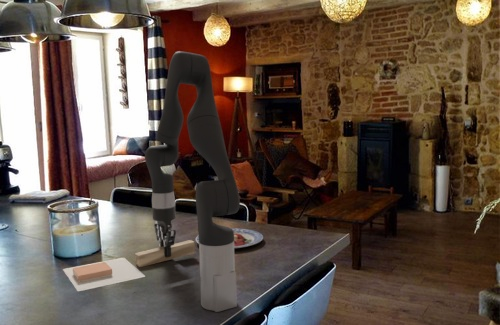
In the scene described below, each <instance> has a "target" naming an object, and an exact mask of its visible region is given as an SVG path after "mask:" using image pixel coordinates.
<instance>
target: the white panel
mask: <svg viewBox="0 0 500 325" xmlns="http://www.w3.org/2000/svg"><path fill="white" fill-rule="evenodd" d="M103 262H105V263H106V264H107V265H108V266H109V267H110V268H111V269H112V275H111V276H106V277H101V278H97V279H92V280H87V281H82V282H79V281H78V280H77V278H76V277H75V275H74V274H73V268H77V267H82V266H87V265H92V264H97V263H103ZM62 271H63V272H64V274H65V275H66V276H67V278H68V280H69V281H70V282H71V284H72V285H73V287H74V288H75V290H76V291H77V292H84V291H86V290H93V289H96V288H101V287H105V286H109V285H115V284H118V283H125V282H128V281H134V280H138V279H143V278H146V275H145V274H144V273H143V272H142V271H141V270H139V269H138V268H137V267H136V266H135V265H134V264H132V263H131V262H130V261H128V259H126V258H125V256H124V257H120V258H118V257H117V258H113V259H108V260H104V261H99V262H93V263H88V264H82V265H77V266H72V267H71V266H70V267H66V268H62Z"/></svg>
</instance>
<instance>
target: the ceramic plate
mask: <svg viewBox="0 0 500 325" xmlns="http://www.w3.org/2000/svg"><path fill="white" fill-rule="evenodd" d="M230 228H231V227H230ZM231 229H232V230H233V232H234V250H236V249H241V248H246V247H250V246H254V245H257V244H259V243H261V241H263V239H264V236H263V235H262V233H261V232H258V231H256V230H253V229H252V230H251V229H247V228H236V227H235V228H234V227H233V228H231ZM194 241H195V242H196V243H197V244H198V245H199V234H198V235H197V236H196V237H195V240H194Z"/></svg>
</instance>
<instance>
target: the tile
mask: <svg viewBox="0 0 500 325" xmlns="http://www.w3.org/2000/svg"><path fill="white" fill-rule="evenodd" d="M96 263H97V262H96ZM91 264H92V263H91ZM86 265H87V264H86ZM81 266H82V265H81ZM73 274H74V275H75V277H76V278H77V280H78V281H79V282H82V281H87V280H92V279H97V278H101V277H106V276H111V275H112V269H111V268H110V267H109V266H108V265H107V264H106V263H105V262H103V263H97V264H92V265H87V266H82V267H77V268H73Z"/></svg>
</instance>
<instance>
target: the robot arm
mask: <svg viewBox="0 0 500 325" xmlns="http://www.w3.org/2000/svg"><path fill="white" fill-rule="evenodd" d="M211 72H212V71H211V67H210V62H209V60H208V59H207V57H206V56H205V55H202V54H198V53H193V52H187V51H180V50H179V51H175V53H174V54H173V55H172V57H171V59H170V63H169V68H168V73H167V78H166V86H165V93H164V94H165V95H164V102H163V109H162V112H161V113H162V114H161V117H160V120H159V123H158V127H157V131H156V139H157V140H158V141H159V142H160V143H162V144H158V145H151V146H148V148H147V149H146V150H145V153H144V161H145V164H146V167H147V169H148V172H149V176H150V180H151V193H152V195H151V208H152V213H151V214H152V220H153V221H155V223H153V226H154V231H155V237H156V240H157V241H158V243H159V244H160V247H163V246H164V256H165V257H166V258H167V257H171V246H172V245H174V244H175V240H176V234H177V231H176V229H173V224H172V221H173V220H175V219H176V198H175V191H174V190H175V189H174V188H175V187H174V177H173V175H172V174H171V173H168V172H163V169H162V168H161V167H171V166H173V165H175V164H176V162H177V160H178V158H179V137H180V135H181V132H182V128H183V125H184V113H183V109H182V106H181V103H180V99H179V87H180V85H181V84H183V85H189V86H194V87H195V88H196V89H195V90H196V95H197V96H196V99H195V102H194V103H193V105H192V107H191V109H190V111H189V113H188V115H187V117H186V118H187V119H186V127H187V131H188V137H189V142H190V144H191V145H192V146H193V148H194V150H195V151H196V152H197V153H198V155H200V156H201V157H202V158H203V159H204V160H205V161H206V162H207V163H208V164H209V165H210V167H211V168H212V169H213V170H214V173H215V174H216V176H217V179H216V180H204V181H200V182H198V183H197V184H196V187H195V207H196V216H197V230H198V231H197V232H198V235H199V244H198V254H199V255H198V256H199V280H200V282H199V284H200V285H199V286H200V304H201V307H202V308H203V309H205V310H208V311H213V312H215V313H219V312H222V311H226V310H230V309H232V308H236V307H238V302H237V300H238V299H237V272H236V269H235V264H236V263H235V249H234V232H233V230H232V229H231V227H228V226H224V225H220V224H217V223H215V222H213V217H219V216H230V215H234V214H236V213H238V211H239V210H240V207H241V206H240V205H241V201H240V192H239V188H238V186H237V182H236V178H235V176H234V172H233V169H232V166H231V163H230V159H229V157H228V152H227V149H226V145H225V144H226V143H225V140H224V139H225V138H224V134H223V129H222V124H221V121H220V120H221V119H220V116H219V113H218V109H217V104H216V100H215V96H214V95H215V94H214V88H213V81H212V74H211ZM156 221H157V223H156ZM159 244H158V245H159Z"/></svg>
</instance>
